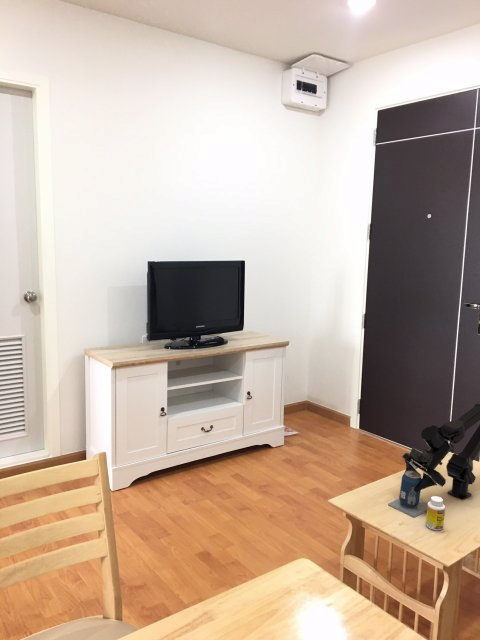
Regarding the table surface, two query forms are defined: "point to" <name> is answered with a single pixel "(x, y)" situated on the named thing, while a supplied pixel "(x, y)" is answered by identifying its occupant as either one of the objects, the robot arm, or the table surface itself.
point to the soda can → (410, 489)
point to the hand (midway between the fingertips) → (408, 486)
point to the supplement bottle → (435, 513)
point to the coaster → (409, 511)
